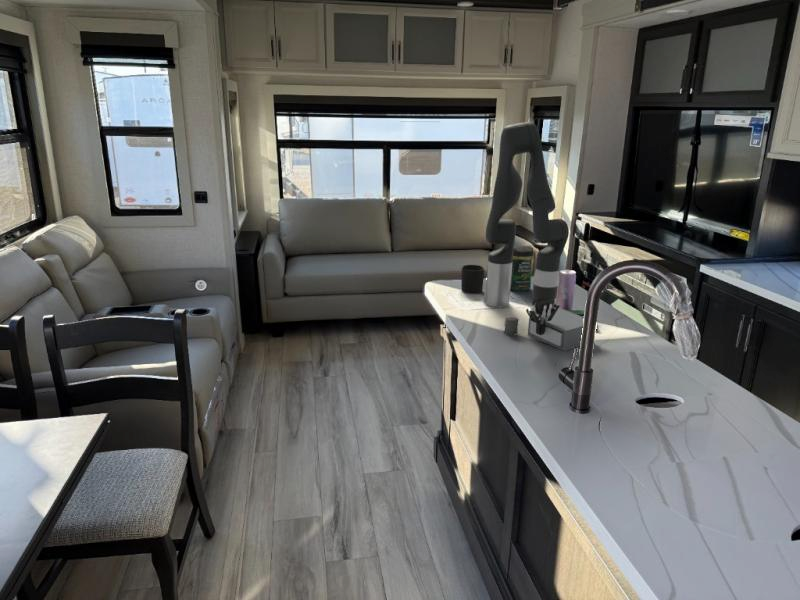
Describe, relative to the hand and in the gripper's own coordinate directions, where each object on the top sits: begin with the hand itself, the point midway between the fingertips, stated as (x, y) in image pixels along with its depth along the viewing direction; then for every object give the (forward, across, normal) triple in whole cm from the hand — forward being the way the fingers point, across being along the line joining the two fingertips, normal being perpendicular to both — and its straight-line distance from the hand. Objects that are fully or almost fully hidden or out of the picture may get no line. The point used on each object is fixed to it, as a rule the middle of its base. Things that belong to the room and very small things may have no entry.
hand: (540, 333), depth 181 cm
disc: (+1, +8, 0) cm, 8 cm away
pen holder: (+4, +16, +55) cm, 57 cm away
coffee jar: (+4, +36, +47) cm, 59 cm away
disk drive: (+4, +27, +7) cm, 28 cm away
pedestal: (+4, -1, +12) cm, 12 cm away
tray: (+2, +8, 0) cm, 9 cm away
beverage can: (+3, +32, +19) cm, 38 cm away
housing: (+3, +10, 0) cm, 10 cm away
